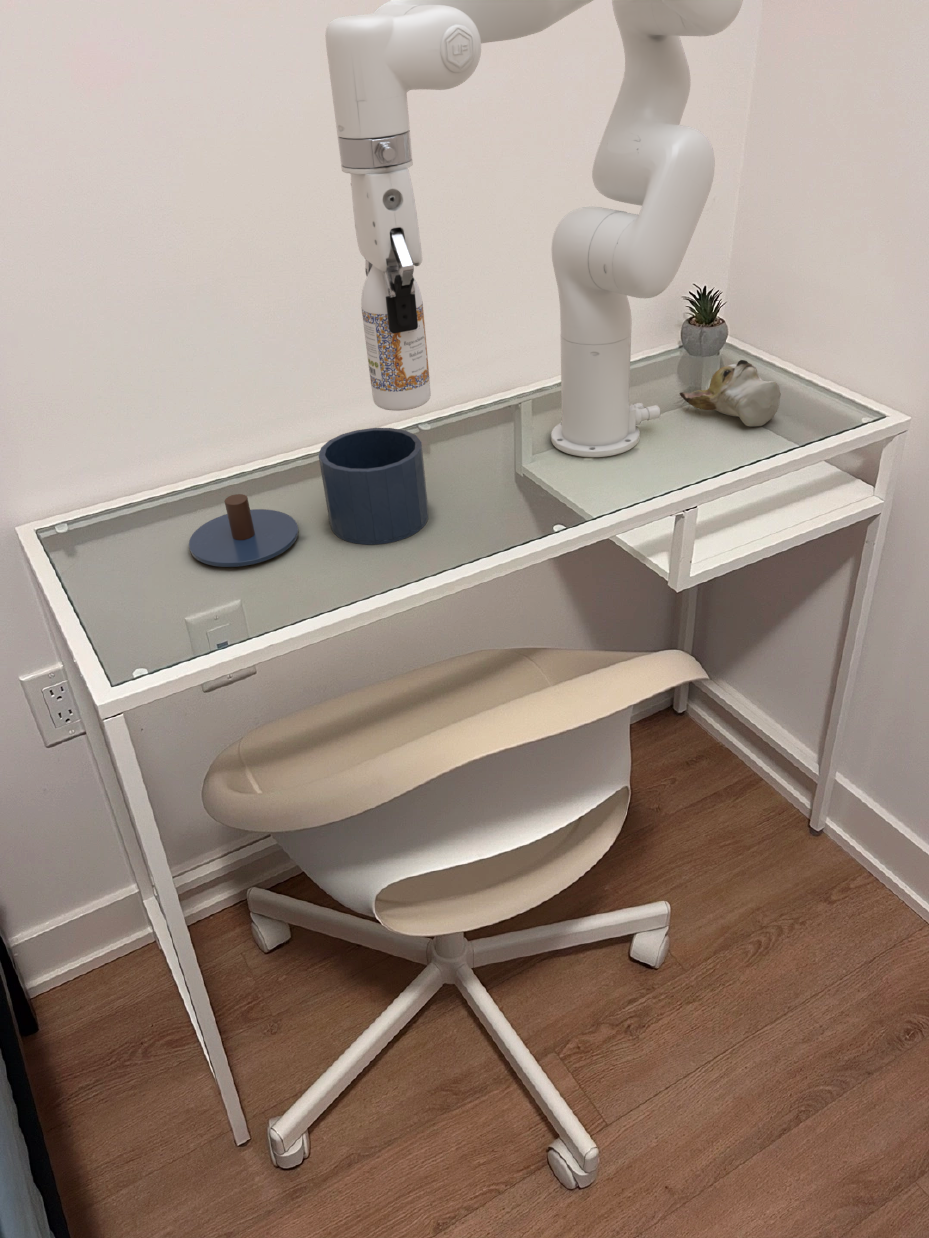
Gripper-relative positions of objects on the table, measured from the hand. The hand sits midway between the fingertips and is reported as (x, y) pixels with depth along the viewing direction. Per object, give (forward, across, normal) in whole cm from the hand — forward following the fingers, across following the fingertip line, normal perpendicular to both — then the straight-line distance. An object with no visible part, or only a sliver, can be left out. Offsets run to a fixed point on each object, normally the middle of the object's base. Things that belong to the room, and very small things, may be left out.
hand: (393, 320), depth 115 cm
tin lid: (+25, +4, +21) cm, 33 cm away
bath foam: (+10, 0, 0) cm, 10 cm away
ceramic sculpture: (+26, +8, -53) cm, 59 cm away
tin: (+26, +2, +4) cm, 26 cm away
